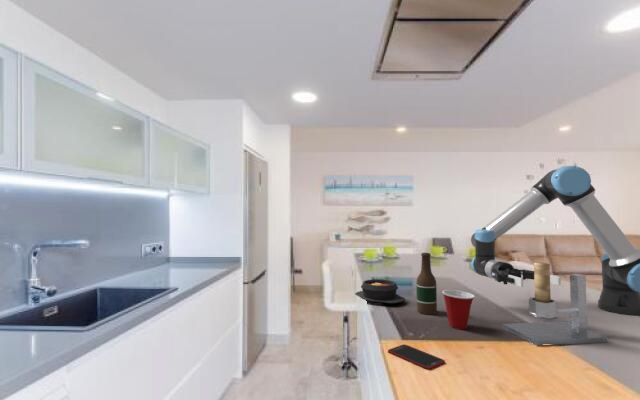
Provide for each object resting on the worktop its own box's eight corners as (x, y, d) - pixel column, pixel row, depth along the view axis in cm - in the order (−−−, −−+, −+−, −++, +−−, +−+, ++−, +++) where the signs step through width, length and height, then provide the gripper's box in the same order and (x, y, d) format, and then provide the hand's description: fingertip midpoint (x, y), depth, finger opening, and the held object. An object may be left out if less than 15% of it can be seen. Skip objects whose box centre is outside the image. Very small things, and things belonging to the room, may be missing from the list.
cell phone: (404, 347, 106) (404, 343, 106) (446, 364, 94) (446, 360, 94) (386, 353, 101) (386, 350, 101) (428, 372, 90) (428, 368, 90)
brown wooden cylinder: (544, 310, 117) (542, 262, 117) (554, 313, 112) (553, 264, 113) (531, 310, 116) (530, 262, 117) (541, 314, 112) (540, 264, 113)
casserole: (414, 302, 156) (414, 283, 156) (387, 310, 144) (387, 289, 145) (372, 292, 175) (372, 275, 176) (346, 298, 164) (346, 280, 164)
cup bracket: (565, 325, 124) (563, 270, 124) (607, 342, 108) (605, 279, 109) (502, 328, 121) (501, 272, 122) (536, 346, 105) (534, 281, 106)
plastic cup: (478, 332, 117) (478, 296, 117) (445, 330, 119) (444, 295, 120) (471, 322, 128) (470, 289, 128) (440, 320, 130) (440, 288, 130)
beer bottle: (436, 310, 143) (435, 252, 144) (436, 315, 136) (435, 254, 137) (417, 308, 146) (416, 251, 146) (416, 314, 138) (415, 253, 139)
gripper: (529, 279, 138) (575, 292, 116) (470, 281, 134) (506, 294, 113) (528, 260, 138) (574, 269, 117) (470, 262, 135) (506, 271, 114)
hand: (541, 282), depth 115 cm, fingers open, 13 cm apart
